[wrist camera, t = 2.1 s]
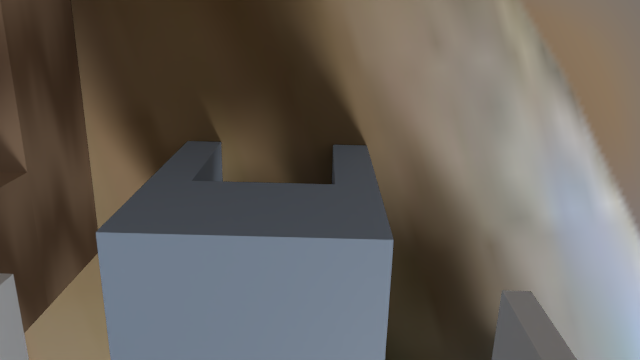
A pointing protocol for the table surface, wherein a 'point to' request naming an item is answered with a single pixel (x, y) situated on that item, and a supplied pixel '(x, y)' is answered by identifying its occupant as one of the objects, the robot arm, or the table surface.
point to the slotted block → (248, 264)
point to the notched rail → (42, 155)
